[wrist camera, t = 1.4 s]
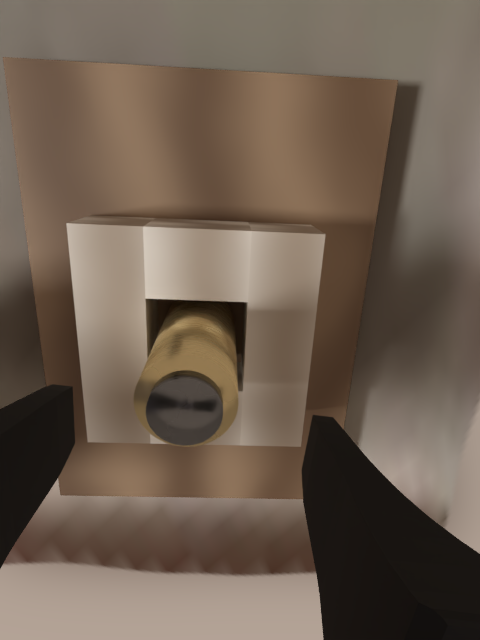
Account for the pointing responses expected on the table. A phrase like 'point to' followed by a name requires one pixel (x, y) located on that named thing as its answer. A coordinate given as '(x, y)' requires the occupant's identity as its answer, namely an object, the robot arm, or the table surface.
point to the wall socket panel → (197, 253)
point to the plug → (190, 375)
